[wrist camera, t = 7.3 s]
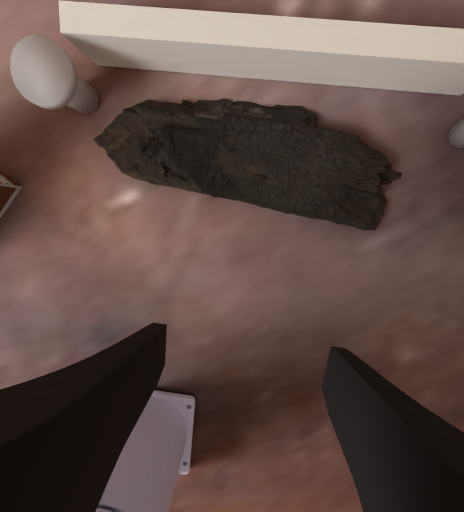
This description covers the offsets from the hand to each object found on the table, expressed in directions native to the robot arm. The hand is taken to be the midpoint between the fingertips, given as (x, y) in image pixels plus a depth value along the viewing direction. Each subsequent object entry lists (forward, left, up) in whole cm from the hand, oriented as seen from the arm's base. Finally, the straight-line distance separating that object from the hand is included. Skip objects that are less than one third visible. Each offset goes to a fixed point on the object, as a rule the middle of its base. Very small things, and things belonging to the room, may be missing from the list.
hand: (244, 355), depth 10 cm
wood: (+10, +1, -11) cm, 14 cm away
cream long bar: (+13, 0, -10) cm, 17 cm away
